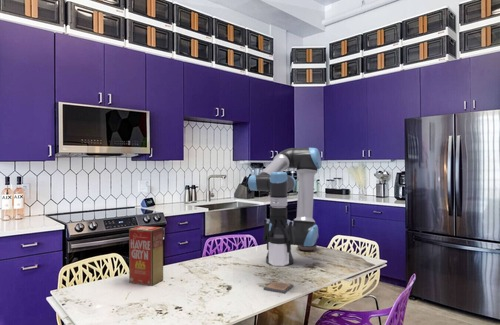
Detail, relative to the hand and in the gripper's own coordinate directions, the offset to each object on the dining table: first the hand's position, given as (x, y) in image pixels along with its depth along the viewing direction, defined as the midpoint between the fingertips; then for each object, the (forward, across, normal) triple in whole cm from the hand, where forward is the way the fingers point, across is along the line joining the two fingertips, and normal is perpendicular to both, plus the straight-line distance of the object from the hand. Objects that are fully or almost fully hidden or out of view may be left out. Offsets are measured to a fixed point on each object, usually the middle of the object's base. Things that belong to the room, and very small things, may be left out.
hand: (278, 258), depth 158 cm
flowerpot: (+13, -12, +73) cm, 75 cm away
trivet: (+13, 0, 0) cm, 13 cm away
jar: (+2, 0, 0) cm, 2 cm away
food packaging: (+13, -58, -21) cm, 63 cm away
